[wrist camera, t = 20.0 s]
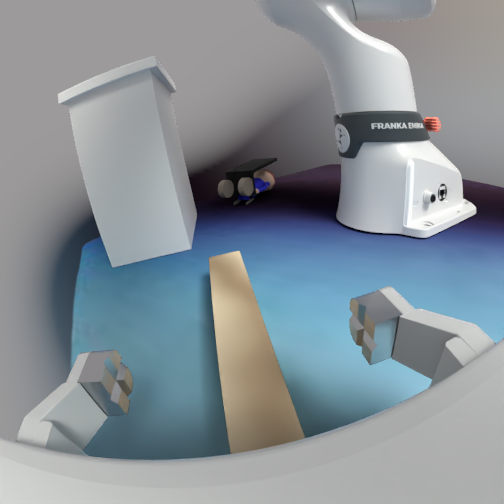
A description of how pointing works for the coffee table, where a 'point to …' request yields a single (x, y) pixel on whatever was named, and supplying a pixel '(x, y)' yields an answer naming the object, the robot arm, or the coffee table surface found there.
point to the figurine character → (247, 180)
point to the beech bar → (248, 363)
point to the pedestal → (133, 161)
